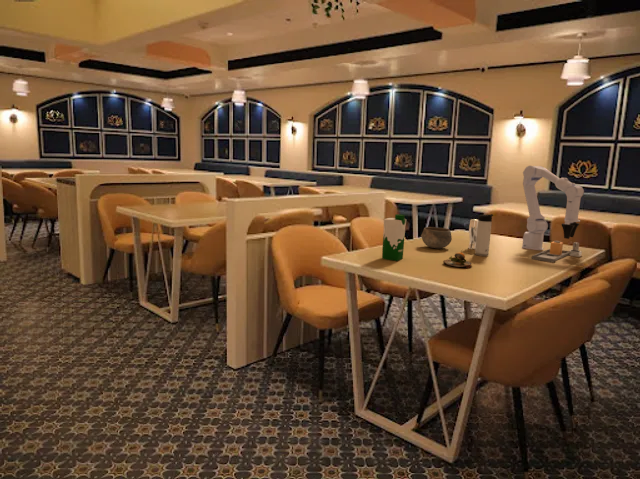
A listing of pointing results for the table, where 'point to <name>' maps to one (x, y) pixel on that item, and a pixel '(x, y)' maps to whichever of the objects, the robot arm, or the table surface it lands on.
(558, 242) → the block
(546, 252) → the case
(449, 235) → the bowl
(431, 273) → the table surface
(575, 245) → the rod
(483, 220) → the travel mug
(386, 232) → the milk carton
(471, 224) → the beer glass
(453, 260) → the burger
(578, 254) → the bracket
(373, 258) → the table surface
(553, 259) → the lid
